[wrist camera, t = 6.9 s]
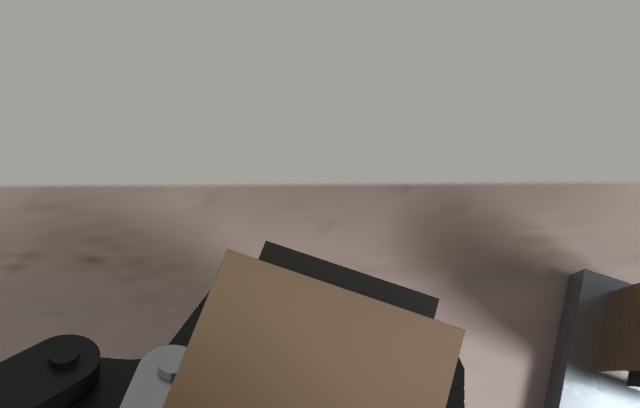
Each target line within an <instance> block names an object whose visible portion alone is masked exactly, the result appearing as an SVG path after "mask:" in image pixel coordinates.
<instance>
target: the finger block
mask: <svg viewBox="0 0 640 408" xmlns="http://www.w3.org/2000/svg"><path fill="white" fill-rule="evenodd" d="M438 301H439V299H438V298H435V297H432V296H429V295H426V294H423V293H420V292H417V291H414V290H411V289H408V288H405V287H402V286H399V285H396V284H393V283H390V282H387V281H384V280H381V279H378V278H375V277H372V276H369V275H366V274H363V273H360V272H357V271H354V270H352V269H349V268H346V267H343V266H340V265H337V264H334V263H331V262H328V261H325V260H322V259H319V258H316V257H313V256H310V255H307V254H304V253H301V252H298V251H295V250H292V249H289V248H286V247H283V246H280V245H277V244H274V243H271V242H268V241H266V242H265V244H264V247H263V250H262V252H261V255H260V257H259V260H258V259H255V258H253V257H250V256H247V255H244V254H241V253H238V252H235V251H232V250H229V249H227V251H226V253H225V256H224V258H223V260H222V263H221V265H220V268H219V270H218V273H217V275H216V278H215V280H214V282H213V285H212V287H211V290H210V292H209V295H208V297H207V300H206V302H205V304H204V307H203V309H202V312H201V314H200V317H199V319H198V322H197V324H196V326H195V329H194V331H193V334H192V336H191V339H190V341H189V344H188V346H187V349H186V351H185V353H184V356H183V358H182V361H181V363H180V366H179V368H178V371H177V373H176V375H175V378H174V380H173V383H172V385H171V388H170V390H169V393H168V395H167V397H166V400H165V402H164V405H163V407H162V408H446V404H447V400H448V396H449V392H450V389H451V385H452V381H453V377H454V373H455V369H456V365H457V361H458V357H459V353H460V349H461V345H462V341H463V337H464V333H465V330H464V329H461V328H458V327H455V326H452V325H449V324H446V323H443V322H440V321H437V320H435V319H434V316H435V313H436V309H437V305H438Z"/></svg>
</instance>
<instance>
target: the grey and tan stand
mask: <svg viewBox="0 0 640 408" xmlns="http://www.w3.org/2000/svg"><path fill="white" fill-rule="evenodd" d="M545 408H640V283H637V284H634V285H633V284H630V283H627V282H624V281H621V280H618V279H614V278H611V277H608V276H605V275H602V274H599V273H596V272H592V271H589V270H586V269H584V270H581V271H579V272H577V273H574V274H572V275H570V278H569V283H568V289H567V294H566V299H565V304H564V309H563V314H562V320H561V325H560V330H559V335H558V340H557V345H556V351H555V356H554V361H553V366H552V371H551V377H550V382H549V387H548V392H547V397H546V402H545Z"/></svg>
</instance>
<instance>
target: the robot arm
mask: <svg viewBox="0 0 640 408" xmlns="http://www.w3.org/2000/svg"><path fill="white" fill-rule="evenodd" d="M209 292H210V291H209ZM209 292H208V294H207V296H206V297H205V298H204V299H203V300H202V301H201V303H200V304H199V307H197V308H196V309H195V311H194V312H193V313H192V315H191V316H190V317H189V319H188V320H187V321H186V323H185V324H184V325H183V327H182V328H181V329H180V330H179V332H178V333H177V334H176V336H175V337H174V338H173V340H172V341H171V342H170V344H169V345H164V346H160V347H157V348H155V349H153V350H151V351H149V352H148V353H147V354H146V355H144V357H143V358H142V359H136V360H124V359H112V358H100V350H99V348H98V346H97V345H96V344H95V343H94V342H93V341H92V340H90V339H88V338H86V337H83V336H79V335H60V336H55V337H52V338H49V339H47V340H44V341H42V342H40V343H38V344H36V345H34V346H32V347H30V348H28V349H26V350H24V351H22V352H20V353H18V354H16V355H14V356H12V357H10V358H8V359H6V360H4V361H2V362H0V408H162V407H163V405H164V402H165V400H166V397H167V395H168V393H169V390H170V388H171V385H172V383H173V380H174V378H175V375H176V373H177V371H178V368H179V366H180V363H181V361H182V358H183V356H184V353H185V351H186V349H187V346H188V344H189V341H190V339H191V336H192V334H193V331H194V329H195V326H196V324H197V322H198V319H199V317H200V314H201V312H202V309H203V307H204V304H205V302H206V300H207V297H208V295H209ZM446 408H464V367H463V365H462V363H461V361H460V359H459V357H458V361H457V365H456V369H455V373H454V377H453V381H452V385H451V389H450V392H449V396H448V400H447V404H446Z"/></svg>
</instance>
